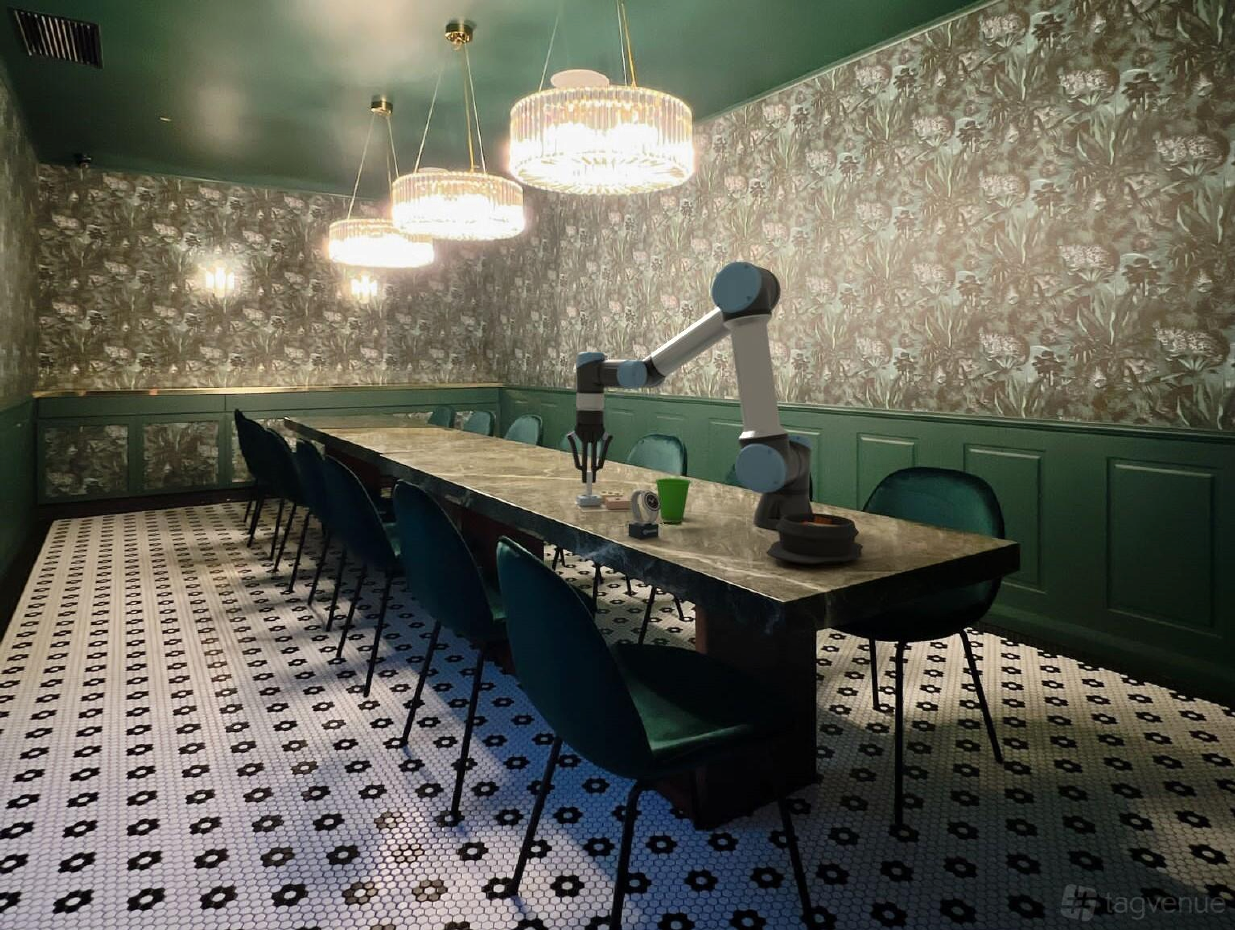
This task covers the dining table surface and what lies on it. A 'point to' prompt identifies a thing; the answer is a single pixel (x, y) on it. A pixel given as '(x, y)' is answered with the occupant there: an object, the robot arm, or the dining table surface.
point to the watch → (641, 527)
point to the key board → (597, 507)
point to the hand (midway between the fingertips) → (588, 494)
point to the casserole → (816, 539)
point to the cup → (672, 498)
